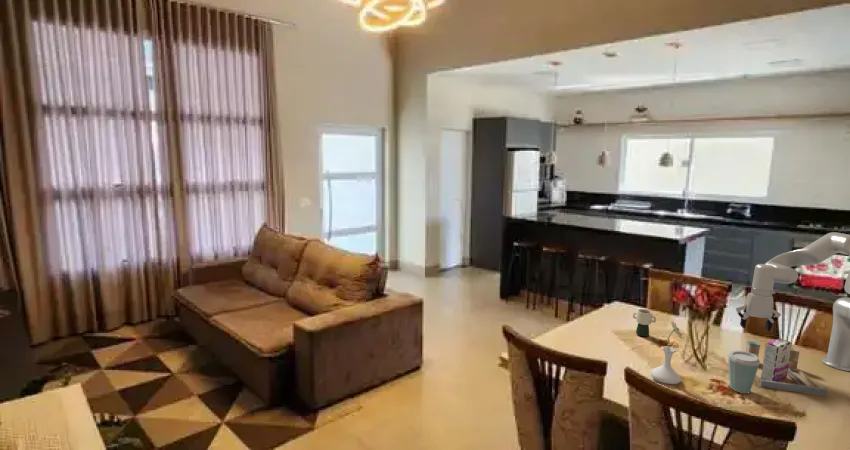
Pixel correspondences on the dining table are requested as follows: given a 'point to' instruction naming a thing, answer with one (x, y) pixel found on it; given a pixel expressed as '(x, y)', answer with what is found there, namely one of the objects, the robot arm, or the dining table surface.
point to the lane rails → (794, 386)
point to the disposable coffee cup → (742, 370)
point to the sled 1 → (754, 349)
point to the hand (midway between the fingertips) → (755, 328)
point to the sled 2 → (793, 366)
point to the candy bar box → (776, 360)
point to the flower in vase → (667, 363)
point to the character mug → (643, 321)
